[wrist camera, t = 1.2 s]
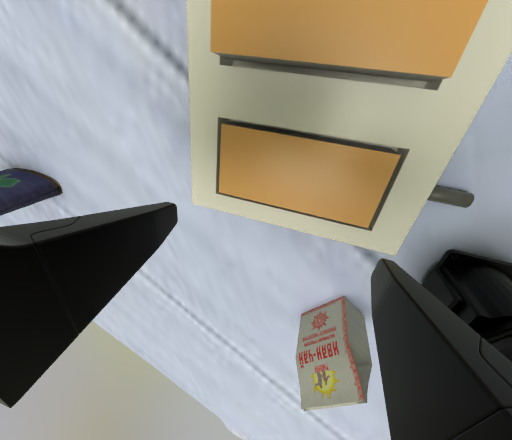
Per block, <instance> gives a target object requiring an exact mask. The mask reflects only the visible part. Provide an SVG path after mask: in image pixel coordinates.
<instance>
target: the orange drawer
mask: <svg viewBox="0 0 512 440" xmlns="http://www.w3.org/2000/svg"><path fill="white" fill-rule="evenodd" d="M487 2H488V0H211V42H210V52H213V53H215V54H217V55H219V56H222V57H224V58H226V59H230V60H239V61H248V62H256V63H265V64H274V65H283V66H292V67H301V68H310V69H319V70H328V71H337V72H345V73H354V74H363V75H372V76H381V77H390V78H399V79H408V80H417V81H426V82H432V81H436V80H441V79H446V78H450V77H452V75H453V73H454V71H455V69H456V66H457V64H458V62H459V60H460V58H461V56H462V54H463V52H464V50H465V48H466V46H467V44H468V42H469V39H470V37H471V35H472V33H473V31H474V29H475V27H476V25H477V23H478V21H479V19H480V17H481V15H482V13H483V10H484V8H485V6H486V4H487Z"/></svg>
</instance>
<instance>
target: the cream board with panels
mask: <svg viewBox="0 0 512 440" xmlns="http://www.w3.org/2000/svg"><path fill="white" fill-rule="evenodd" d="M187 34H188V68H189V103H190V137H191V171H192V204H196V205H200V206H204V207H208V208H212V209H216V210H219V211H223V212H227V213H231V214H235V215H239V216H243V217H247V218H250V219H254V220H258V221H262V222H266V223H270V224H274V225H278V226H281V227H285V228H289V229H293V230H297V231H301V232H305V233H309V234H312V235H316V236H320V237H324V238H328V239H332V240H336V241H340V242H343V243H347V244H351V245H355V246H359V247H363V248H367V249H371V250H374V251H378V252H382V253H386V254H390V255H394V256H395V255H396V253H397V252H398V250H399V248H400V246H401V245H402V243H403V241H404V239H405V238H406V236H407V234H408V232H409V231H410V229H411V227H412V225H413V224H414V222H415V220H416V218H417V217H418V215H419V213H420V211H421V210H422V208H423V206H424V204H425V203H426V201H427V200H430V201H435V202H440V203H445V204H449V205H454V206H459V207H464V208H467V207H469V206H470V205H471V204H472V202H473V200H474V195H473V194H472V193H469V192H463V191H458V190H453V189H448V188H443V187H438V186H435V185H436V184H437V182H438V180H439V178H440V177H441V175H442V173H443V171H444V170H445V168H446V166H447V164H448V163H449V161H450V159H451V157H452V156H453V154H454V152H455V150H456V149H457V147H458V145H459V143H460V142H461V140H462V138H463V136H464V135H465V133H466V131H467V129H468V128H469V126H470V124H471V122H472V121H473V119H474V117H475V115H476V114H477V112H478V110H479V108H480V107H481V105H482V103H483V101H484V100H485V98H486V96H487V94H488V93H489V91H490V89H491V87H492V86H493V84H494V82H495V80H496V79H497V77H498V75H499V73H500V72H501V70H502V68H503V66H504V65H505V63H506V61H507V59H508V58H509V56H510V54H511V52H512V0H488V2H487V4H486V6H485V8H484V10H483V13H482V15H481V17H480V19H479V21H478V23H477V25H476V27H475V29H474V31H473V33H472V35H471V37H470V39H469V42H468V44H467V46H466V48H465V50H464V52H463V54H462V56H461V58H460V60H459V62H458V64H457V66H456V69H455V71H454V73H453V75H452V77H450V78H446V79H441V80H436V81H432V82H426V81H417V80H408V79H399V78H390V77H381V76H372V75H363V74H354V73H345V72H337V71H328V70H319V69H310V68H301V67H292V66H283V65H274V64H265V63H256V62H248V61H239V60H230V59H226V58H224V57H222V56H219V55H217V54H215V53H213V52H210V42H211V0H187ZM229 122H240V123H246V124H252V125H258V126H264V127H270V128H275V129H281V130H287V131H293V132H299V133H305V134H311V135H316V136H322V137H328V138H334V139H340V140H346V141H352V142H358V143H363V144H369V145H375V146H381V147H387V148H391V149H393V150H394V151H396V152H397V153H398V154H400V155H401V156H400V158H399V160H398V163H397V165H396V167H395V169H394V171H393V174H392V176H391V178H390V180H389V183H388V185H387V187H386V189H385V191H384V194H383V196H382V198H381V200H380V202H379V205H378V207H377V209H376V211H375V213H374V216H373V218H372V220H371V222H370V224H369V227H368V228H365V227H361V226H357V225H353V224H349V223H344V222H340V221H336V220H332V219H328V218H324V217H319V216H315V215H311V214H307V213H303V212H299V211H295V210H290V209H286V208H282V207H278V206H274V205H270V204H265V203H261V202H257V201H253V200H249V199H245V198H241V197H236V196H232V195H228V194H224V193H220V192H219V175H220V148H221V124H223V123H229Z"/></svg>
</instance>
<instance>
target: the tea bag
mask: <svg viewBox="0 0 512 440" xmlns="http://www.w3.org/2000/svg"><path fill="white" fill-rule="evenodd" d="M296 363H297V370H298V377H299V384H300V393H301V409H304V411H307V410H315V409H323V408H330V407H338V406H346V405H354V404H362V403H367V390H368V382H369V378H370V373H371V368H372V362H371V355H370V349H369V343H368V337H367V331H366V325H365V319H364V315H363V314H362V313H361V312H360V311H359V310H358V309H357V308H356V307H355V306H354V305H353V304H352V303H351V302H350V301H349V300H348V299H347V298H346V297H345V296H343V297H340V298H338V299H336V300H333V301H331V302H329V303H327V304H324V305H322V306H320V307H317V308H315V309H313V310H310V311H308V312H306V313H303V314H301V321H300V328H299V336H298V344H297V351H296Z"/></svg>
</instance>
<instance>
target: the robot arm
mask: <svg viewBox="0 0 512 440" xmlns="http://www.w3.org/2000/svg"><path fill="white" fill-rule="evenodd" d="M177 220H178V218H177V206H176V205H175V204H174V203H170V202H163V203H157V204H151V205H145V206H139V207H133V208H127V209H120V210H114V211H108V212H102V213H96V214H90V215H84V216H82V217H81V216H77V217H71V218H65V219H58V220H51V221H44V222H36V223H28V224H20V225H12V226H4V227H0V403H2V404H3V405H5V406H7V407H9V408H11V407H12V406H14V405H15V404H16V403H17V402H18V401H19V400H20V399H21V398H22V396H23V395H24V394H25V393H26V392H27V391H28V390H29V389H30V388H31V387H32V385H33V384H34V383H35V382H36V381H37V380H38V379H39V378H40V377H41V376H42V375H43V373H44V372H45V371H46V370H47V369H48V368H49V367H50V366H51V365H52V364H53V363H54V362H55V361H56V359H57V358H58V357H59V356H60V355H61V354H62V353H63V352H64V351H65V350H66V349H67V347H68V346H69V345H70V344H71V343H72V342H73V341H74V340H75V339H76V338H77V336H78V335H79V334H80V333H81V332H82V331H83V330H84V329H85V328H86V327H87V325H88V324H89V323H90V322H91V321H92V320H93V319H94V318H95V317H96V316H97V315H98V313H99V312H100V311H101V310H102V309H103V308H104V307H105V306H106V305H107V304H108V303H109V301H110V300H111V299H112V298H113V297H114V296H115V295H116V294H117V293H118V292H119V291H120V290H121V288H122V287H123V286H124V285H125V284H126V283H127V282H128V281H129V280H130V279H131V278H132V276H133V275H134V274H135V273H136V272H137V271H138V270H139V269H140V268H141V267H142V266H143V264H144V263H145V262H146V261H147V260H148V259H149V258H150V257H151V256H152V255H153V254H154V253H155V251H156V250H157V249H158V248H159V247H160V245H161V244H162V243H163V242H164V240H165V239H166V237H167V236H168V235H169V233H170V232H171V231H172V229H173V228H174V227H175V225H176V224H177ZM452 255H455V256H454V257H451V256H452ZM371 304H372V319H373V325H374V332H375V338H376V345H377V351H378V358H379V364H380V371H381V377H382V384H383V390H384V397H385V403H386V410H387V416H388V423H389V429H390V436H391V440H512V264H510V263H505V262H501V261H497V260H493V259H489V258H485V257H481V256H477V255H472V254H468V253H464V252H460V251H456V250H450V251H448V252H447V253H446V254H445V255H444V257H443V258H442V259H441V261H440V262H439V264H438V265H437V266H436V268H434V269H433V271H432V272H431V273H430V275H429V276H428V277H427V279H426V280H425V282H424V283H423V284H422V285H420V284H419V283H418V282H417V281H416V280H415V279H413V278H412V277H411V276H410V275H409V274H408V273H406V272H405V271H404V270H403V269H402V268H401V267H399V266H398V265H397V264H396V263H395V262H394V261H391V260H387V259H383V258H382V259H380V260H379V262H378V264H377V265H376V267H375V269H374V271H373V273H372V276H371Z"/></svg>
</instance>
